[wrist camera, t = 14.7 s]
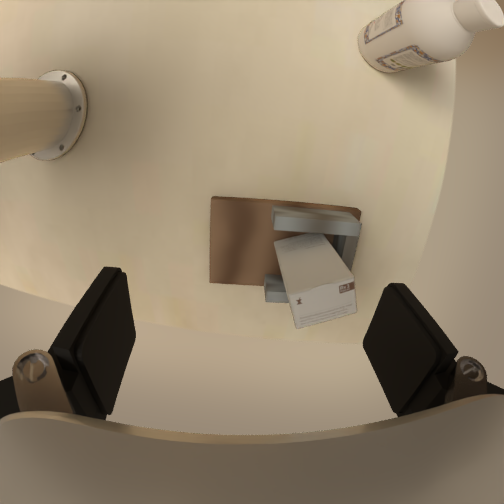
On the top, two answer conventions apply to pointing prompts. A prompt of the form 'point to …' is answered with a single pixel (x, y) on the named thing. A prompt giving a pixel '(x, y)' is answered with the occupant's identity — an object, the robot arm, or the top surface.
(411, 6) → the bath foam
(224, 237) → the u rest
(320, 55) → the top surface
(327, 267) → the skincare box
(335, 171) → the top surface
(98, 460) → the robot arm
